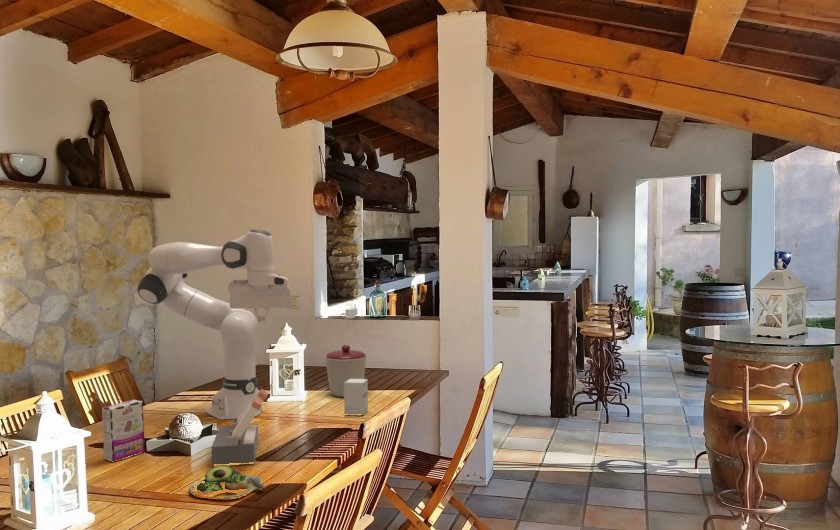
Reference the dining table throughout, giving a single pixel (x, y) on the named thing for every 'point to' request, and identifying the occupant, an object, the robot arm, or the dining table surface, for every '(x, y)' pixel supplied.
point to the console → (235, 445)
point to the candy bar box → (123, 429)
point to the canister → (344, 368)
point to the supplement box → (355, 396)
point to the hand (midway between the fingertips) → (261, 321)
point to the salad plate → (227, 481)
